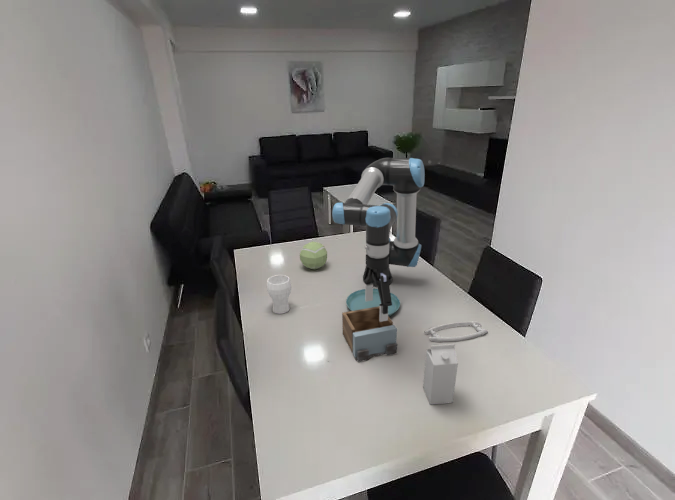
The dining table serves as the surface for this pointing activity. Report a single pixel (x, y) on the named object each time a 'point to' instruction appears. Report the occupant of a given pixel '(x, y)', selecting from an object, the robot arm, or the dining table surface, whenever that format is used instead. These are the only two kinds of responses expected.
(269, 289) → the cup
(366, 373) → the dining table surface
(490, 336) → the dining table surface
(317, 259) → the decorative sphere
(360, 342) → the door
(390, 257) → the robot arm
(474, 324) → the door handle
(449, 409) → the dining table surface
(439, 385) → the milk carton
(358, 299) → the saucer
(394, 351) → the cabinet
